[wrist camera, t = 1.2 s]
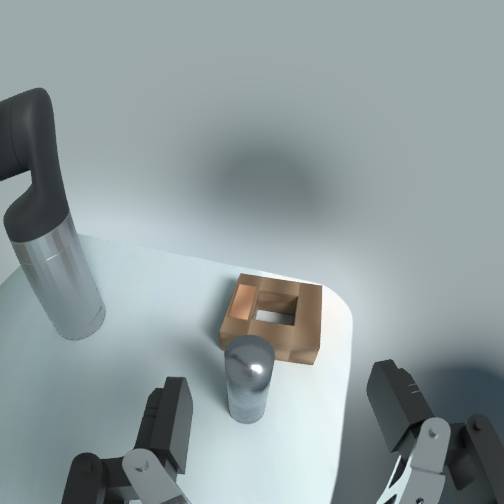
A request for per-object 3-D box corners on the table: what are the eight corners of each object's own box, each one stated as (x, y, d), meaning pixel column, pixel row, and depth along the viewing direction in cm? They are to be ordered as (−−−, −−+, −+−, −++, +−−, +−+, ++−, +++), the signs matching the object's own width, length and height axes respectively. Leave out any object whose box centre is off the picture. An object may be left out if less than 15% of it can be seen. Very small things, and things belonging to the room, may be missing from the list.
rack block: (221, 349, 35) (219, 330, 33) (240, 292, 44) (240, 272, 41) (313, 365, 33) (320, 347, 31) (317, 304, 42) (322, 284, 40)
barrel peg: (225, 419, 27) (218, 369, 20) (233, 390, 30) (231, 330, 23) (260, 426, 27) (270, 380, 19) (267, 396, 30) (278, 339, 23)
